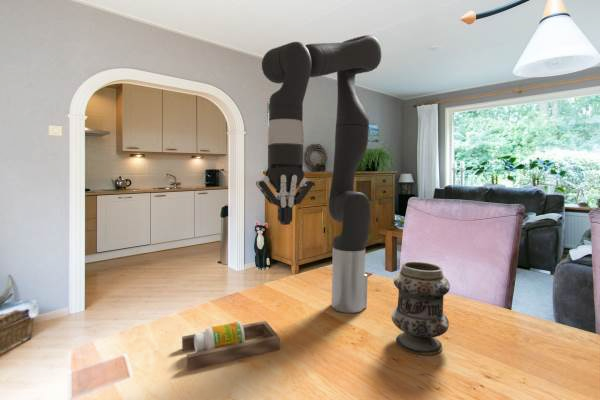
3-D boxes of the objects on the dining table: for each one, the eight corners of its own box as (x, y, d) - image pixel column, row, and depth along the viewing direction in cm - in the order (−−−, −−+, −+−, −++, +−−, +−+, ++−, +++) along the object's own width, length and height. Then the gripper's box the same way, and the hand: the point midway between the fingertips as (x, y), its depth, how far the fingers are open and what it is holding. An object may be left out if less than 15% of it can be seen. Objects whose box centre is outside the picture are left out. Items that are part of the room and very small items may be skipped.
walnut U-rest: (265, 331, 79) (265, 320, 79) (279, 349, 71) (279, 337, 71) (182, 348, 71) (182, 336, 71) (187, 370, 63) (187, 357, 63)
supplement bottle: (246, 338, 69) (198, 348, 64) (242, 352, 71) (196, 363, 67) (240, 316, 72) (194, 324, 68) (236, 330, 75) (192, 339, 71)
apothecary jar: (445, 336, 78) (448, 261, 77) (450, 363, 67) (454, 276, 65) (392, 327, 82) (394, 256, 81) (388, 351, 71) (391, 269, 69)
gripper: (305, 146, 76) (304, 220, 77) (250, 143, 70) (250, 223, 72) (321, 143, 69) (320, 225, 71) (261, 139, 63) (261, 228, 65)
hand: (284, 224), depth 71 cm, fingers closed
